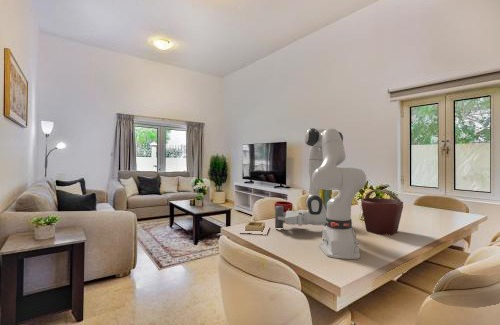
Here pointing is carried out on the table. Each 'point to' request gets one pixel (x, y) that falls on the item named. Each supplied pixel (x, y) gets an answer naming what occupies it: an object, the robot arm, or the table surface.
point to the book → (325, 196)
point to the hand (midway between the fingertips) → (278, 216)
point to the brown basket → (382, 213)
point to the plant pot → (284, 206)
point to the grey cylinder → (277, 213)
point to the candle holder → (255, 226)
